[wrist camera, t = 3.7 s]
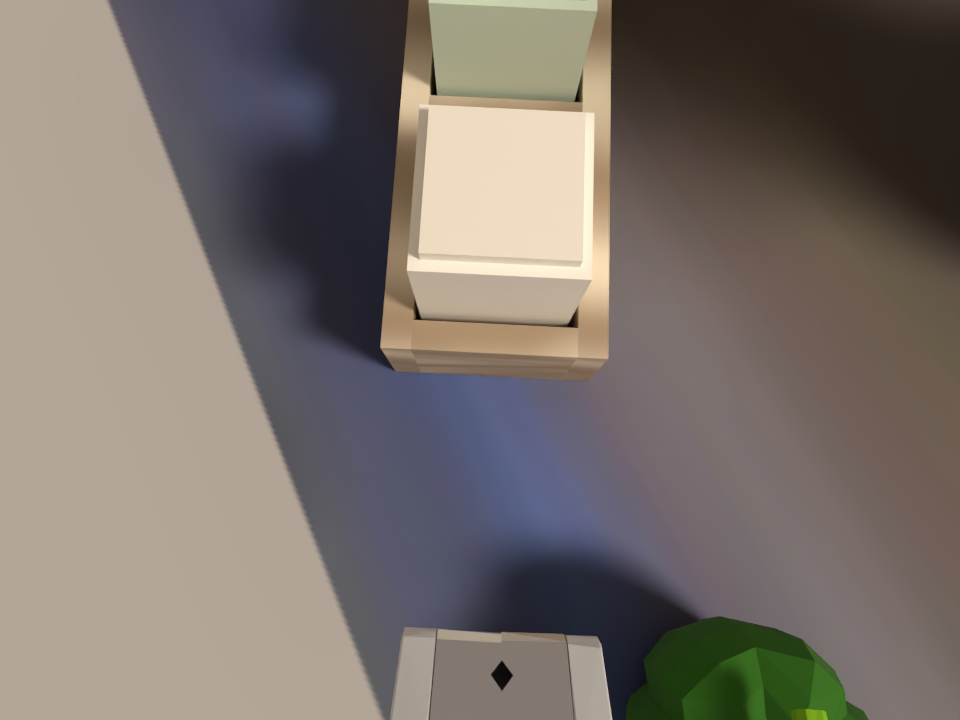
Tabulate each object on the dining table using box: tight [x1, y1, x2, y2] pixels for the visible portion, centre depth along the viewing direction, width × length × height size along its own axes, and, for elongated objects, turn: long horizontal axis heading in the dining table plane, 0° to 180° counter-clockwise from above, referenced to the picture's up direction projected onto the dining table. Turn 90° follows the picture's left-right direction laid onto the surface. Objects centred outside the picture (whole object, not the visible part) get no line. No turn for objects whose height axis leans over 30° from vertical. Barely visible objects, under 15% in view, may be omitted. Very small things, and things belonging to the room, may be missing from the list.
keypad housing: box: [380, 0, 612, 381], centre depth 31 cm, size 29×9×5 cm, turn 177°
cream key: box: [407, 104, 595, 327], centre depth 24 cm, size 6×6×7 cm
